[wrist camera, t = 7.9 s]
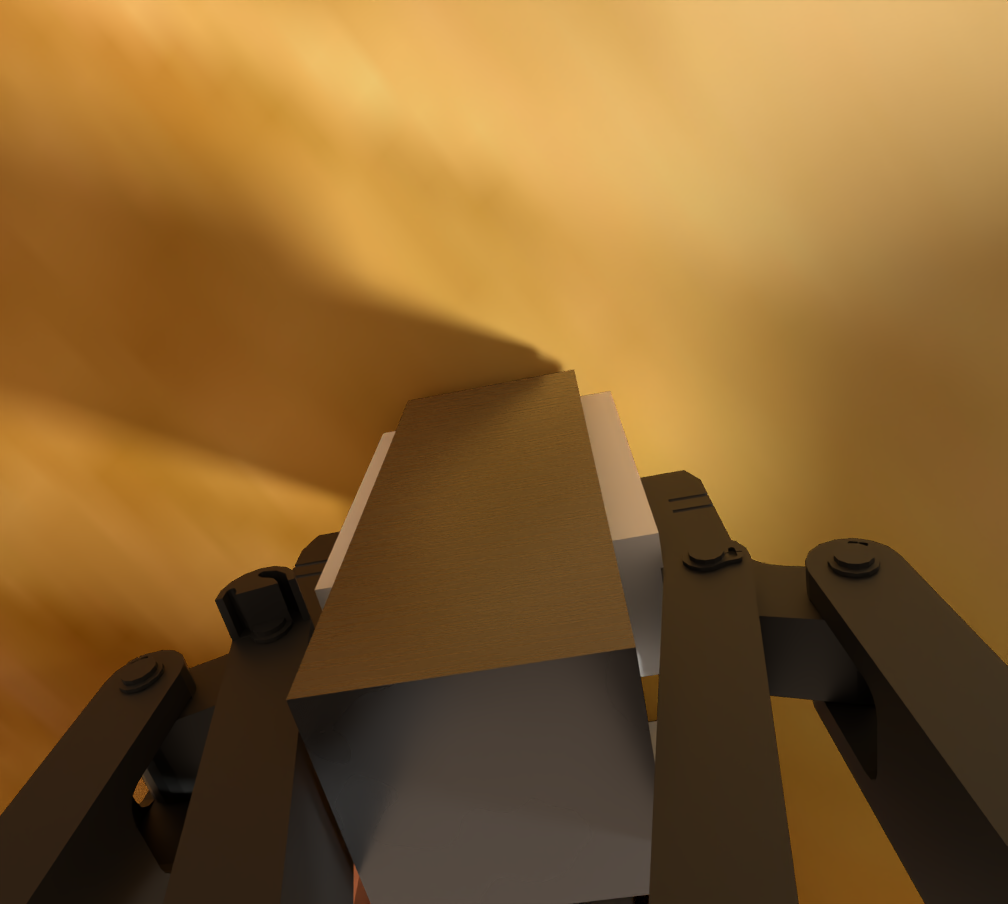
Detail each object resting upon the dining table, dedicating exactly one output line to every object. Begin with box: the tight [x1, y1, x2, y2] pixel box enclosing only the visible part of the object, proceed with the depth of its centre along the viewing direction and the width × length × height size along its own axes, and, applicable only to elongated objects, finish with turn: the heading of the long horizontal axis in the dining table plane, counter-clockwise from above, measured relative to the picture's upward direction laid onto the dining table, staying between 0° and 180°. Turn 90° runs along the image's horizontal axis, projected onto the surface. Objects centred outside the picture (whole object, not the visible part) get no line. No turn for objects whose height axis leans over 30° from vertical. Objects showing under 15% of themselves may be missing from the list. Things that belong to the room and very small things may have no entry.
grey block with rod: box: [286, 370, 655, 904], centre depth 16 cm, size 8×17×10 cm, turn 12°
